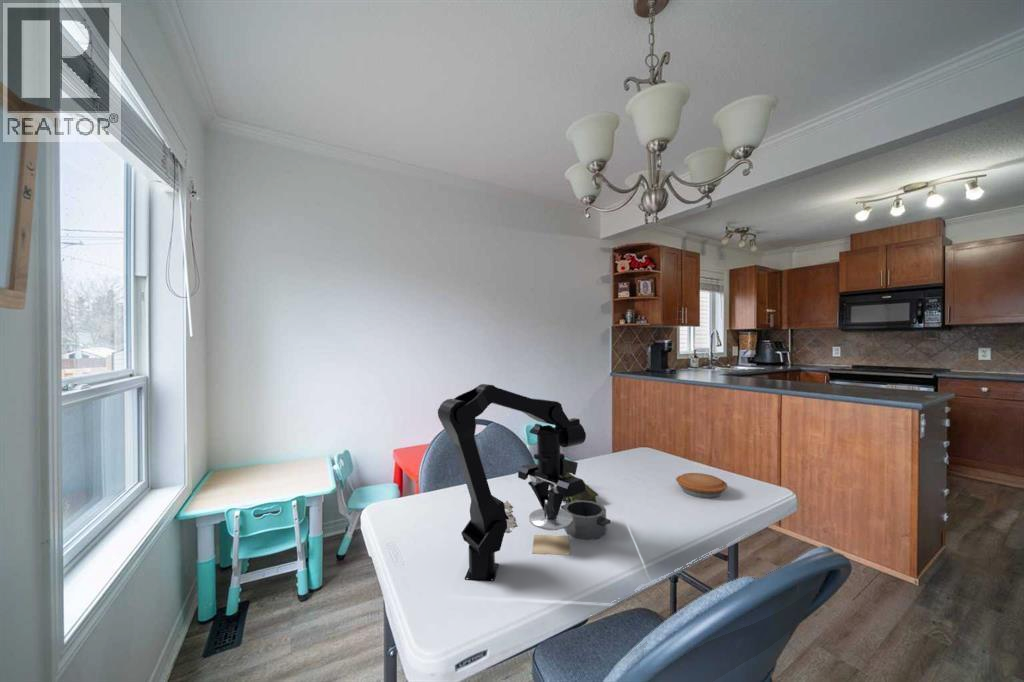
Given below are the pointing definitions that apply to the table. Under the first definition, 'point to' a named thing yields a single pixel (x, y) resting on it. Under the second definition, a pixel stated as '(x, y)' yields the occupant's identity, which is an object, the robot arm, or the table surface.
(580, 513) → the pot
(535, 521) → the lid
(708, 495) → the pie
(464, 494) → the table surface
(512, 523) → the stone fragment
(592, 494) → the toy vehicle
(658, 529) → the table surface
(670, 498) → the table surface
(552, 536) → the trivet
